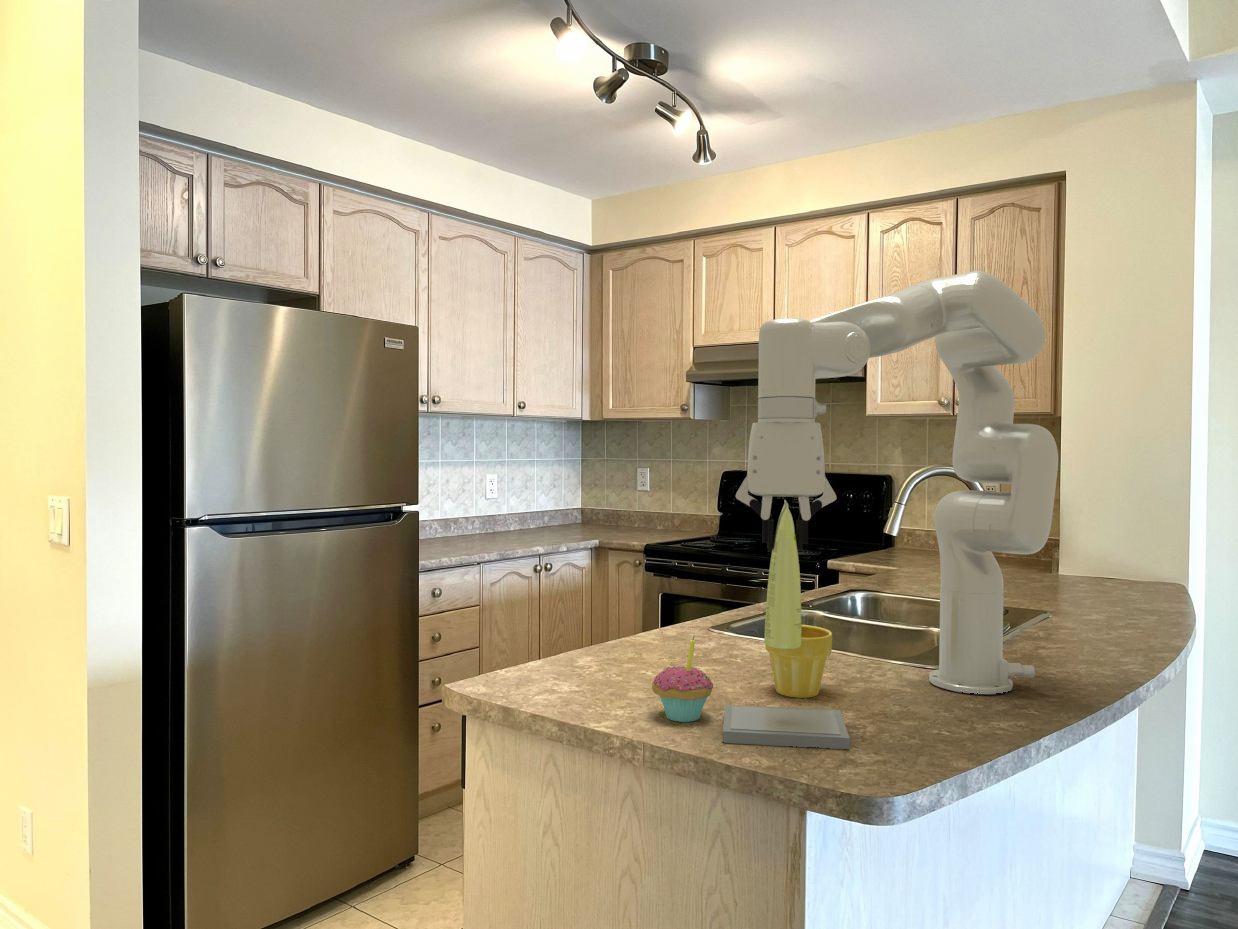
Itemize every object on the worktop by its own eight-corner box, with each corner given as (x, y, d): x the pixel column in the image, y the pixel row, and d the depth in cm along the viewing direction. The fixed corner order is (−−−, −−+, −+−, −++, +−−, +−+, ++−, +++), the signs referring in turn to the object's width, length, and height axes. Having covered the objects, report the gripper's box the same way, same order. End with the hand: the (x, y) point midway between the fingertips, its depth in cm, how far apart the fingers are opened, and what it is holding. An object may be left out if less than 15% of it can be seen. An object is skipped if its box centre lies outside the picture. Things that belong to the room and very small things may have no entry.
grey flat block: (839, 720, 123) (839, 709, 123) (849, 749, 111) (849, 737, 111) (725, 715, 125) (725, 704, 125) (722, 742, 113) (722, 730, 113)
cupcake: (724, 717, 124) (724, 632, 124) (687, 730, 118) (688, 642, 118) (677, 705, 130) (677, 624, 130) (639, 717, 124) (640, 633, 123)
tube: (812, 648, 117) (815, 502, 116) (785, 652, 114) (787, 502, 113) (782, 640, 121) (785, 499, 121) (755, 644, 118) (757, 500, 118)
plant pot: (845, 696, 135) (846, 633, 135) (794, 705, 130) (795, 639, 130) (800, 680, 144) (801, 621, 144) (751, 688, 139) (751, 627, 139)
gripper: (846, 413, 120) (844, 547, 120) (725, 413, 122) (724, 544, 122) (852, 411, 112) (851, 554, 112) (723, 411, 115) (722, 550, 115)
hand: (784, 547), depth 117 cm, fingers closed on tube, 3 cm apart
